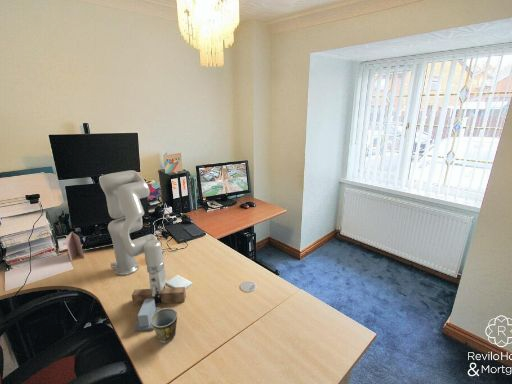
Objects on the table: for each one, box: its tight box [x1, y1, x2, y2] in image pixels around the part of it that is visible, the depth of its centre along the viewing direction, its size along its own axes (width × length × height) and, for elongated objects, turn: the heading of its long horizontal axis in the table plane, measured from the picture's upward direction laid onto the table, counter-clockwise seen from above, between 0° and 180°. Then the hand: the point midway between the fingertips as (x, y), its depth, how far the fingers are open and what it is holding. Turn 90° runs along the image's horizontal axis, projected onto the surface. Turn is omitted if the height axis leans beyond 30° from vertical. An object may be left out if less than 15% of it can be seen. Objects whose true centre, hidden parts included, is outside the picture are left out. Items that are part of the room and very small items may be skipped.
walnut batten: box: [131, 287, 187, 306], centre depth 128 cm, size 24×4×6 cm, turn 95°
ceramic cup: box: [151, 307, 178, 344], centre depth 106 cm, size 13×10×10 cm
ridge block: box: [133, 299, 162, 332], centre depth 116 cm, size 8×12×7 cm, turn 4°
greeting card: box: [65, 231, 85, 262], centre depth 164 cm, size 11×7×15 cm, turn 17°
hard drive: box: [165, 274, 194, 291], centre depth 141 cm, size 2×8×12 cm
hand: (160, 297), depth 128 cm, fingers open, 6 cm apart
